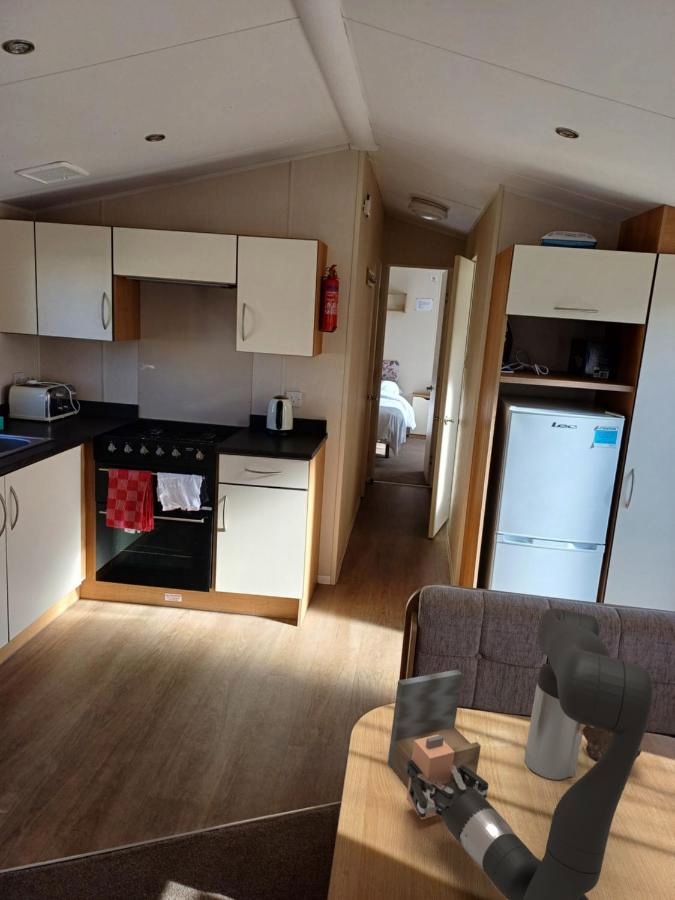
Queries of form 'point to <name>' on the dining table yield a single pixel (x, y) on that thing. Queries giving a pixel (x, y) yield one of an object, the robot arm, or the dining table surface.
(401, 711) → the grey brown l-shaped block
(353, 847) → the dining table surface
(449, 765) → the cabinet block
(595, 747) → the rock
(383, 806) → the dining table surface
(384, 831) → the dining table surface
